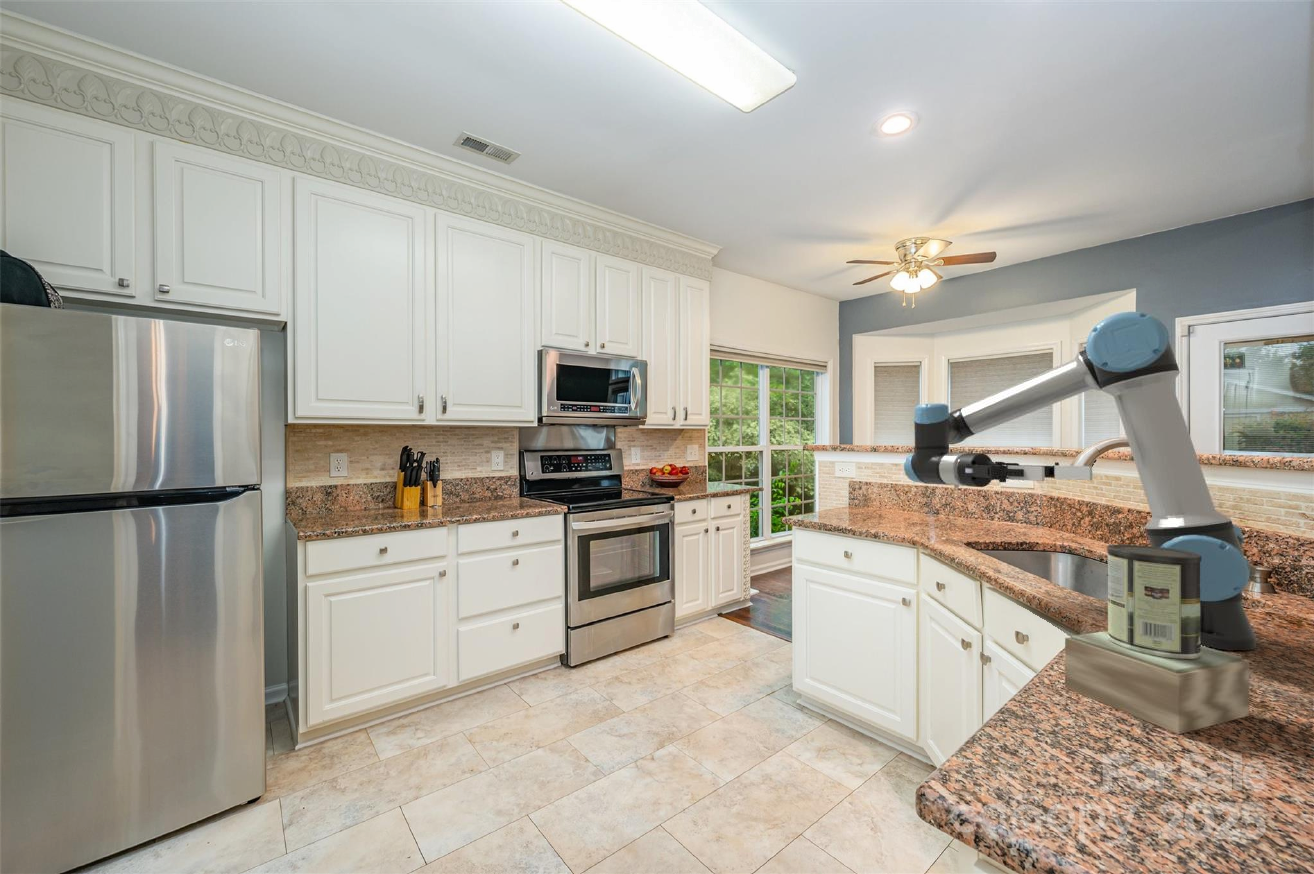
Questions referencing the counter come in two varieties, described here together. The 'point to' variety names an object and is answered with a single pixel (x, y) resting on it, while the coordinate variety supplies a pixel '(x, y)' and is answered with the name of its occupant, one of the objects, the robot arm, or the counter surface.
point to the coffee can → (1154, 600)
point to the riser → (1159, 683)
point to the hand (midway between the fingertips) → (1067, 473)
